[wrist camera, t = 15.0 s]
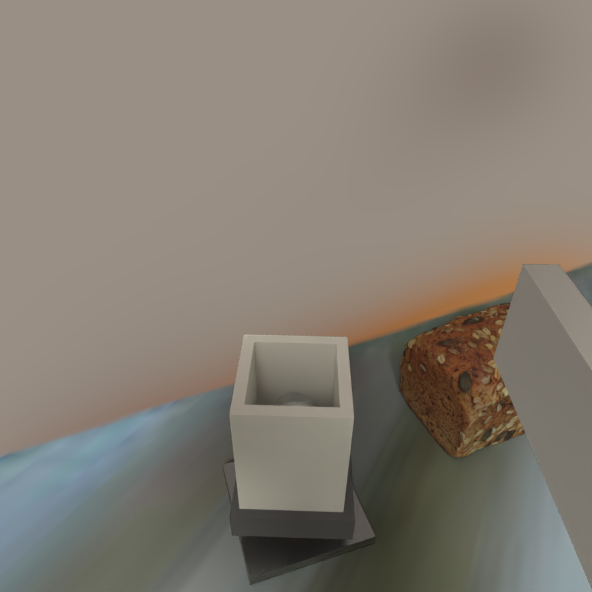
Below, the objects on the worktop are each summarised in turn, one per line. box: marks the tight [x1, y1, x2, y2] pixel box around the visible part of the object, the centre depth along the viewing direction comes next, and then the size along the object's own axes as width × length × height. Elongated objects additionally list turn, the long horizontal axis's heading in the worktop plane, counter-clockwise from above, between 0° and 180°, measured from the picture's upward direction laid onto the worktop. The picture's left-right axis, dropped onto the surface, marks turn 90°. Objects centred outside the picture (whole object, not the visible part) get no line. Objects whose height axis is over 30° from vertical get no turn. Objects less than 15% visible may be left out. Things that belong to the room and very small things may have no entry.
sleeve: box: [229, 334, 354, 512], centre depth 35 cm, size 7×7×10 cm
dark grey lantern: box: [223, 393, 376, 585], centre depth 37 cm, size 10×10×12 cm
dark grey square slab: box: [230, 455, 355, 540], centre depth 38 cm, size 9×9×2 cm
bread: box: [399, 303, 525, 457], centre depth 48 cm, size 19×11×10 cm, turn 113°
